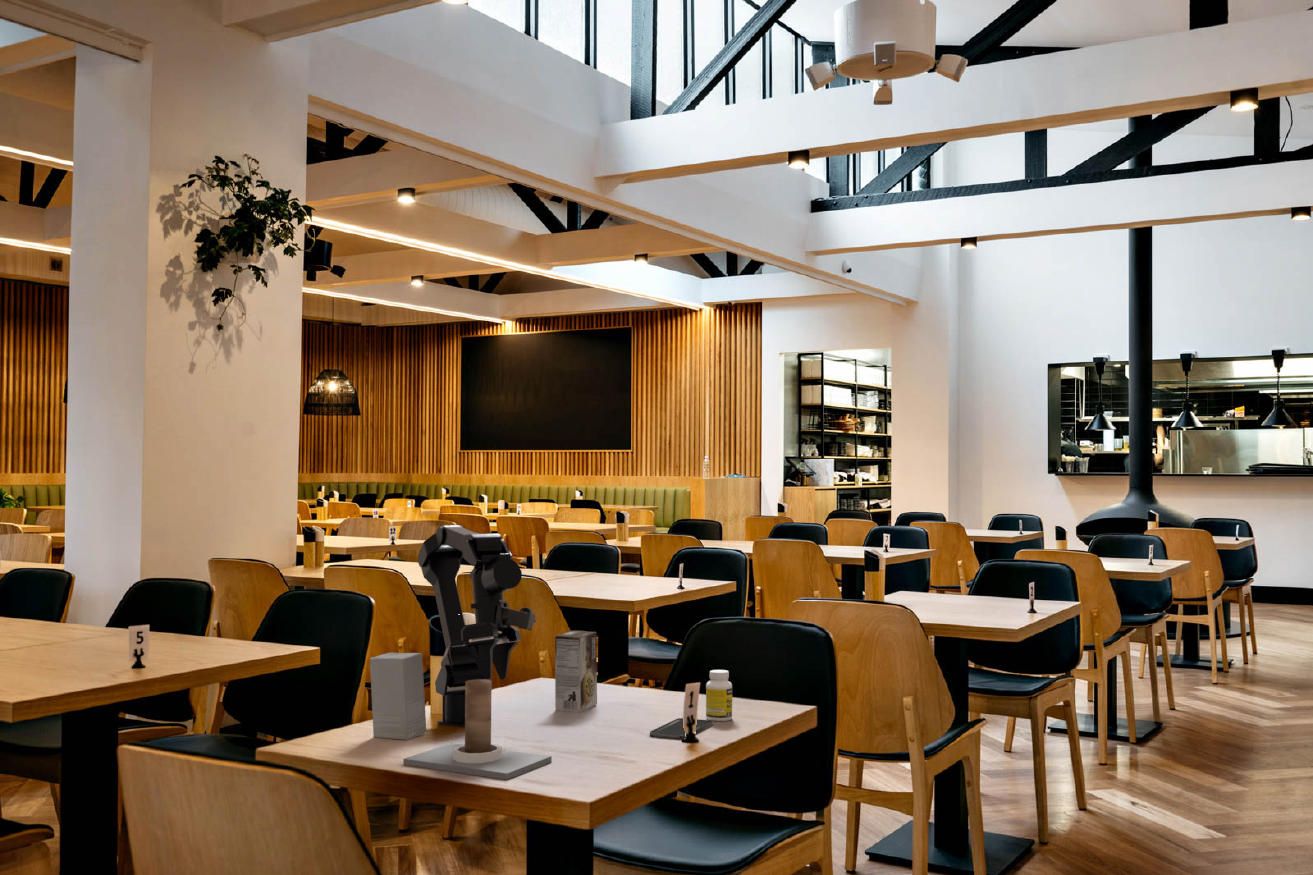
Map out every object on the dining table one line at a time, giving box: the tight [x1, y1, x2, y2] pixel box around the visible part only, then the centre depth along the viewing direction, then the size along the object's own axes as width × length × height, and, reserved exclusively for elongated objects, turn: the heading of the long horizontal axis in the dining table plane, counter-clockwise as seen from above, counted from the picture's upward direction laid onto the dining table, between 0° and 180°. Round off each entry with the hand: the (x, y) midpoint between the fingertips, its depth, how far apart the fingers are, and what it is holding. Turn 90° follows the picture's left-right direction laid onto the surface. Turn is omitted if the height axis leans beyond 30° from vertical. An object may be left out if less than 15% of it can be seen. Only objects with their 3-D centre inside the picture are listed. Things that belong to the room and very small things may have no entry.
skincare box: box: [369, 652, 427, 741], centre depth 210 cm, size 8×7×16 cm
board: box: [403, 742, 553, 781], centre depth 188 cm, size 22×13×2 cm, turn 62°
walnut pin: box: [464, 679, 493, 753], centre depth 188 cm, size 4×4×13 cm
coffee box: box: [554, 630, 598, 713], centre depth 236 cm, size 9×6×16 cm
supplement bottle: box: [705, 669, 733, 722], centre depth 223 cm, size 5×5×10 cm
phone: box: [649, 717, 714, 741], centre depth 213 cm, size 8×1×15 cm
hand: (495, 679), depth 206 cm, fingers open, 9 cm apart
